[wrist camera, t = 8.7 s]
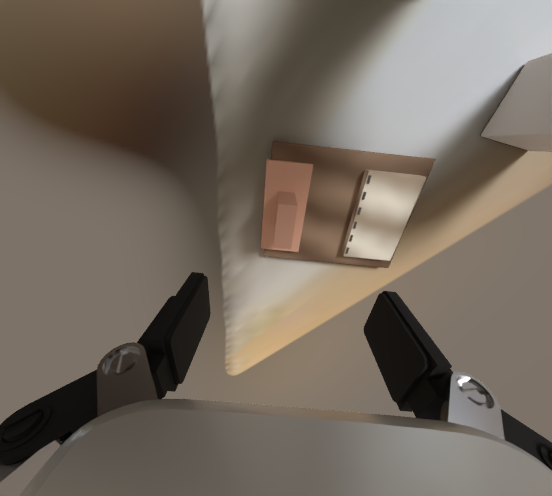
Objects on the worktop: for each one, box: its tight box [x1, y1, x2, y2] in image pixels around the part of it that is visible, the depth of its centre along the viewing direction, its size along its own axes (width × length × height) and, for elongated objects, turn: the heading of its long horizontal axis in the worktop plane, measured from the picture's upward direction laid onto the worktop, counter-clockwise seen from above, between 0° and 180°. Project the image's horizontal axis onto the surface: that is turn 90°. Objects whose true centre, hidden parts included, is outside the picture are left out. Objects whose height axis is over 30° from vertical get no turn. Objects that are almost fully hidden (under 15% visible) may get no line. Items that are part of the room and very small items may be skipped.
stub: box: [261, 159, 313, 252], centre depth 24 cm, size 12×6×7 cm, turn 174°
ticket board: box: [264, 141, 435, 268], centre depth 28 cm, size 16×20×3 cm
